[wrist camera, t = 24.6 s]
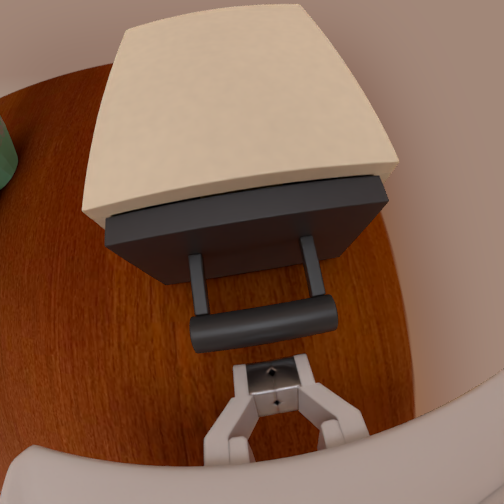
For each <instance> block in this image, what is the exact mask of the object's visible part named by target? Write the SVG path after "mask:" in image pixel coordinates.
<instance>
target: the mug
mask: <svg viewBox="0 0 504 504" xmlns="http://www.w3.org/2000/svg"><path fill="white" fill-rule="evenodd" d="M17 164H18V157H17V154H16V151H15V148H14V145H13V143H12V140H11V138H10V135H9V133H8V131H7V128H6V126H5V124H4V122H3V120H2V118H1V116H0V189H2V188H3V187H4V186H5V185H6V184H7V183H8V182H9V181H10V179H11V178H12V176H13V174H14V172H15V170H16V168H17Z"/></svg>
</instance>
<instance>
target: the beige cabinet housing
mask: <svg viewBox="0 0 504 504" xmlns="http://www.w3.org/2000/svg"><path fill="white" fill-rule="evenodd" d="M398 163H399V159H398V157H397V155H396V152H395V151H394V148H393V146H392V144H391V142H390V140H389V138H388V136H387V134H386V132H385V130H384V128H383V126H382V124H381V123H380V120H379V119H378V117H377V115H376V113H375V111H374V109H373V108H372V106H371V104H370V102H369V101H368V99H367V97H366V96H365V94H364V92H363V90H362V89H361V87H360V86H359V84H358V82H357V81H356V79H355V78H354V76H353V74H352V73H351V71H350V70H349V69H348V67H347V65H346V64H345V62H344V61H343V59H342V58H341V57H340V55H339V54H338V52H337V51H336V49H335V48H334V47H333V45H332V44H331V43H330V41H329V40H328V39H327V37H326V36H325V35H324V34H323V32H322V31H321V30H320V28H319V27H318V26H317V24H316V23H315V22H314V21H313V19H312V18H311V17H310V16H309V15H308V13H307V12H306V11H305V10H304V9H303V8H302V6H301V5H300V4H267V5H266V4H265V5H248V6H236V7H228V8H220V9H213V10H205V11H199V12H194V13H189V14H184V15H179V16H175V17H170V18H166V19H162V20H158V21H154V22H151V23H147V24H143V25H140V26H137V27H134V28H130V29H127V30H126V32H125V34H124V37H123V39H122V42H121V44H120V47H119V50H118V52H117V55H116V58H115V60H114V63H113V66H112V69H111V72H110V75H109V78H108V82H107V85H106V88H105V92H104V95H103V99H102V102H101V106H100V110H99V114H98V118H97V122H96V126H95V131H94V135H93V140H92V145H91V150H90V155H89V161H88V167H87V173H86V180H85V187H84V195H83V204H82V212H84V213H85V214H86V215H87V216H89V217H90V218H91V219H94V221H95V222H96V223H98V224H99V225H100V226H101V227H103V228H104V229H105V219H106V218H109V217H113V216H117V215H122V214H126V213H131V212H135V211H140V210H144V209H145V207H149V206H154V205H159V204H164V203H169V202H174V201H179V200H184V199H189V198H195V197H200V196H206V195H212V194H217V193H223V192H229V191H236V190H242V189H248V188H255V187H262V186H269V185H276V184H284V183H291V182H299V181H308V180H316V179H326V178H335V177H338V179H344V178H355V177H366V176H380V178H381V181H382V183H383V184H384V183H385V182H386V180H387V179H388V178H389V176H390V175H391V173H392V172H393V170H394V169H395V167H396V166H397V165H398Z"/></svg>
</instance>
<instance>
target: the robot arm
mask: <svg viewBox="0 0 504 504" xmlns="http://www.w3.org/2000/svg"><path fill="white" fill-rule="evenodd" d="M233 376H234V390H235V397H234V398H231V399H230V401H229V402H228V404H227V405H226V407H225V408H224V410H223V411H222V413H221V414H220V416H219V417H218V419H217V420H216V422H215V423H214V425H213V426H212V428H211V429H210V430H209V432H208V433H207V435H206V436H205V438H204V466H153V465H139V464H128V463H120V462H112V461H105V460H99V459H93V458H87V457H82V456H77V455H73V454H68V453H64V452H60V451H56V450H52V449H48V448H45V447H42V446H38V445H32V446H30V447H28V448H27V449H25V450H24V451H23V452H22V453H21V454H19V455H18V456H17V457H16V458H15V459H14V460H13V461H12V463H11V464H10V466H9V469H8V471H7V474H6V478H5V481H4V484H3V488H2V492H1V497H0V504H504V369H503V370H501V371H500V372H498V373H497V374H495V375H494V376H492V377H491V378H489V379H488V380H486V381H485V382H483V383H481V384H480V385H478V386H476V387H475V388H473V389H471V390H470V391H468V392H466V393H464V394H463V395H461V396H459V397H457V398H455V399H454V400H452V401H450V402H448V403H446V404H444V405H442V406H440V407H438V408H436V409H434V410H432V411H430V412H428V413H426V414H424V415H421V416H420V417H417V418H415V419H412V420H410V421H408V422H405V423H403V424H401V425H398V426H396V427H393V428H390V429H388V430H385V431H382V432H380V433H377V434H374V435H371V436H370V435H369V432H368V430H367V427H366V425H365V422H364V420H363V417H362V415H361V412H360V410H358V409H357V408H355V407H354V406H352V405H351V404H349V403H348V402H346V401H345V400H343V399H342V398H340V397H339V396H338V395H336V394H335V393H333V392H332V391H330V390H329V389H328V388H326V387H325V386H323V385H322V384H320V383H315V380H314V376H313V373H312V370H311V367H310V364H309V361H308V358H307V355H306V354H305V353H304V354H299V355H294V356H288V357H283V358H278V359H273V360H269V361H263V362H255V363H247V364H240V365H233ZM296 410H299V412H300V413H302V414H303V415H304V416H305V417H306V418H307V419H308V420H309V421H310V422H311V423H312V424H313V425H315V426H316V427H317V428H318V429H319V430H320V433H319V439H318V445H317V449H318V451H315V452H311V453H306V454H302V455H297V456H291V457H286V458H280V459H274V460H267V461H260V462H255V458H254V455H253V453H252V450H251V448H250V445H249V443H248V439H249V437H250V435H251V433H252V431H253V429H254V427H255V425H256V423H257V421H258V419H259V417H262V416H267V415H273V414H278V413H284V412H290V411H296Z"/></svg>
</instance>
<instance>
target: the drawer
mask: <svg viewBox="0 0 504 504" xmlns="http://www.w3.org/2000/svg"><path fill="white" fill-rule="evenodd" d="M388 201H389V199H388V197H387V194H386V191H385V189H384V186H383V183H382V181H381V178H380V176H366V177H355V178H344V179H338V177H335V178H326V179H316V180H308V181H299V182H291V183H284V184H283V186H276V187H269V188H262V189H255V190H248V191H242V192H235V193H229V194H223V195H217V196H211V197H206V198H200V197H195V198H189V199H184V200H179V201H174V202H169V203H164V204H159V205H154V206H149V207H145V209H144V210H140V211H135V212H131V213H126V214H122V215H117V216H113V217H109V218H106V219H105V247H107V248H108V249H110V250H111V251H113V252H114V253H116V254H117V255H119V256H120V257H122V258H123V259H125V260H127V261H128V262H130V263H131V264H133V265H134V266H136V267H138V268H139V269H141V270H142V271H144V272H145V273H147V274H149V275H150V276H152V277H154V278H155V279H157V280H158V281H160V282H162V283H163V284H165V285H170V284H176V283H183V282H190V281H191V287H192V296H193V304H194V312H195V315H196V316H195V317H191V319H190V337H191V342H192V345H193V348H194V350H195V352H196V353H206V352H214V351H222V350H229V349H237V348H243V347H250V346H256V345H262V344H268V343H274V342H280V341H285V340H291V339H296V338H301V337H306V336H311V335H315V334H320V333H325V332H329V331H334V330H336V329H337V326H338V315H337V309H336V305H335V302H334V300H333V298H332V296H331V295H329V294H327V295H325V288H324V284H323V279H322V274H321V270H320V265H319V261H318V260H324V259H330V258H335V257H339V256H340V255H341V254H342V253H343V252H344V251H345V250H346V249H347V248H348V247H349V245H350V244H351V243H352V242H353V241H354V240H355V239H356V238H357V237H358V236H359V234H360V233H361V232H362V231H363V230H364V229H365V228H366V227H367V226H368V224H369V223H370V222H371V221H372V220H373V219H374V218H375V217H376V215H377V214H378V213H379V212H380V211H381V210H382V208H383V207H384V206H385V205H386V204H387V203H388ZM301 263H303V265H304V270H305V275H306V280H307V285H308V290H309V295H310V298H307V299H301V300H296V301H291V302H285V303H279V304H274V305H268V306H262V307H256V308H250V309H243V310H237V311H230V312H224V313H217V314H210V307H209V299H208V292H207V284H206V279H209V278H216V277H222V276H228V275H235V274H241V273H247V272H253V271H259V270H266V269H272V268H278V267H283V266H289V265H295V264H301Z"/></svg>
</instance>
